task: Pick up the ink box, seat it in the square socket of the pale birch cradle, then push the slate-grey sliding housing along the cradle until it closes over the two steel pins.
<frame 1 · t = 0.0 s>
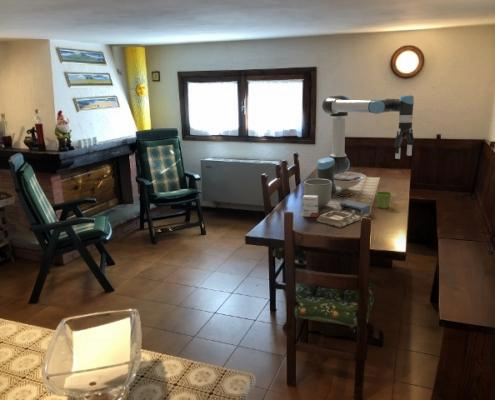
hand: (403, 157, 252), 28 cm above the table, fingers open, 13 cm apart
plant pot: (382, 207, 249), on the table
cradle: (343, 217, 233), on the table
planter: (317, 207, 256), on the table
ink box: (310, 215, 240), on the table
housing: (354, 207, 238), point 4 cm above the table, slide at 0.0 cm
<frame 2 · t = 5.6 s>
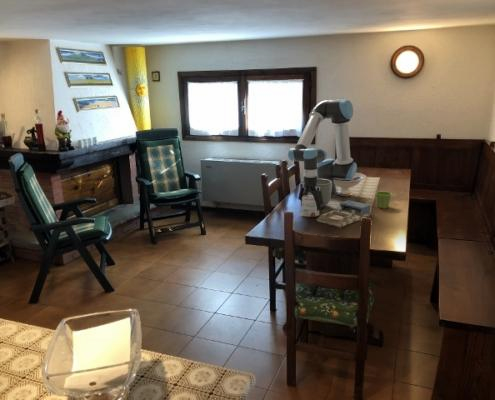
hand: (310, 213, 239), 1 cm above the table, fingers closed on ink box, 9 cm apart
ink box: (310, 215, 240), on the table, touching gripper
everything else where it was.
when the fingers open (6 cm above the table, at t = 9.8 s): ink box drops 3 cm, resting on cradle.
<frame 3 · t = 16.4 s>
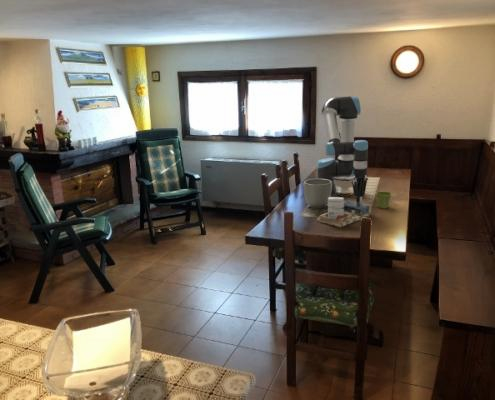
hand: (359, 207, 241), 3 cm above the table, fingers closed
ink box: (335, 218, 228), point 1 cm above the table, touching cradle
housing: (354, 207, 238), point 4 cm above the table, slide at 0.6 cm, touching gripper
everything else where it was.
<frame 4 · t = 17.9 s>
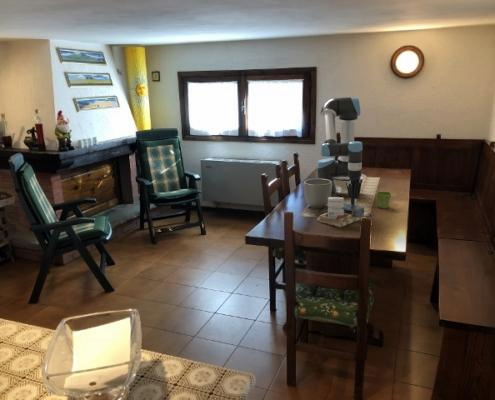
hand: (353, 209, 238), 3 cm above the table, fingers closed
housing: (348, 209, 235), point 4 cm above the table, slide at 5.7 cm, touching gripper
everything else where it was.
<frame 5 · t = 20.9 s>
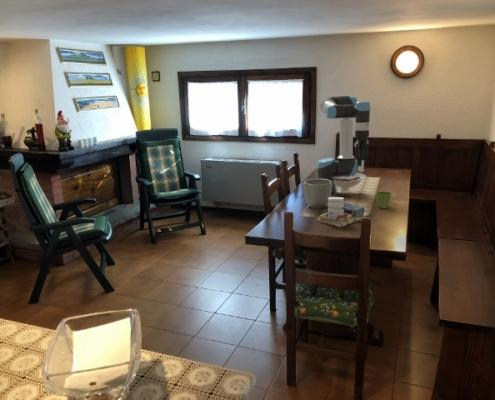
hand: (360, 171, 235), 24 cm above the table, fingers closed
housing: (348, 209, 235), point 4 cm above the table, slide at 5.7 cm
everything else where it was.
at the end: ink box inside the target area on the cradle (0.5 cm from its centre), point 1.3 cm above the cradle's base; ink box tilted 0°; housing slide at 5.7 cm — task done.
